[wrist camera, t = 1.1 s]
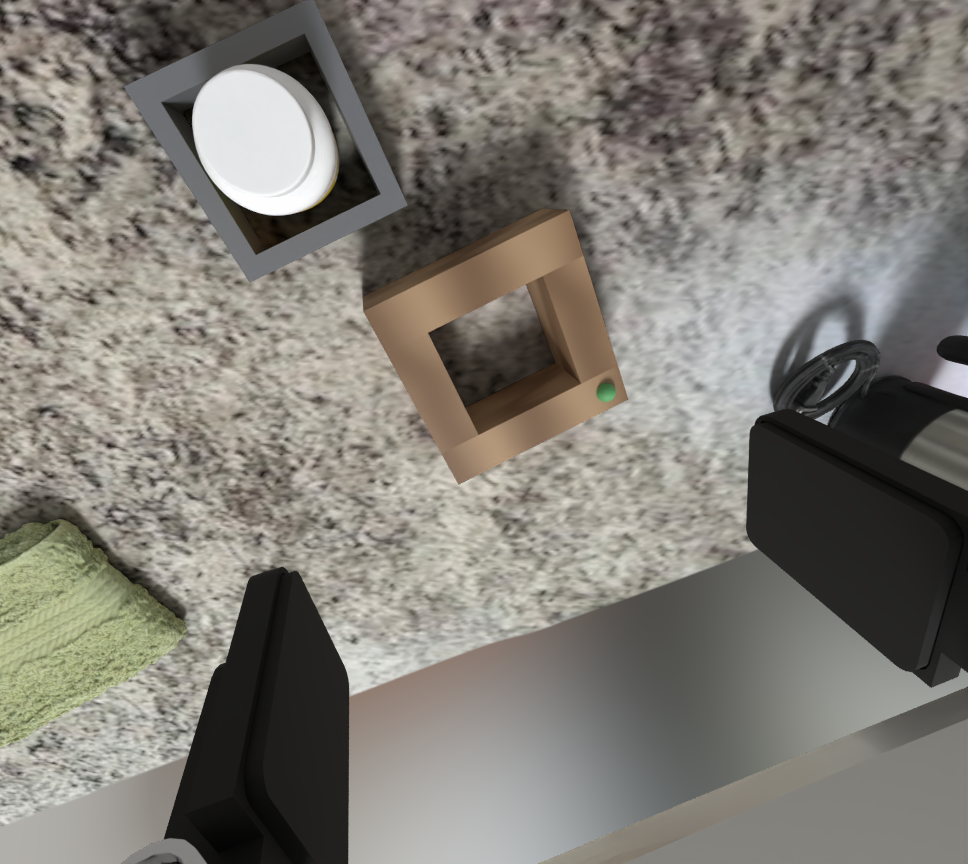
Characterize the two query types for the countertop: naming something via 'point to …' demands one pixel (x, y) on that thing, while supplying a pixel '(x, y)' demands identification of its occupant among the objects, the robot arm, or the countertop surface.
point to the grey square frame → (271, 47)
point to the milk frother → (888, 408)
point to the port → (473, 283)
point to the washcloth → (69, 626)
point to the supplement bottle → (265, 140)
